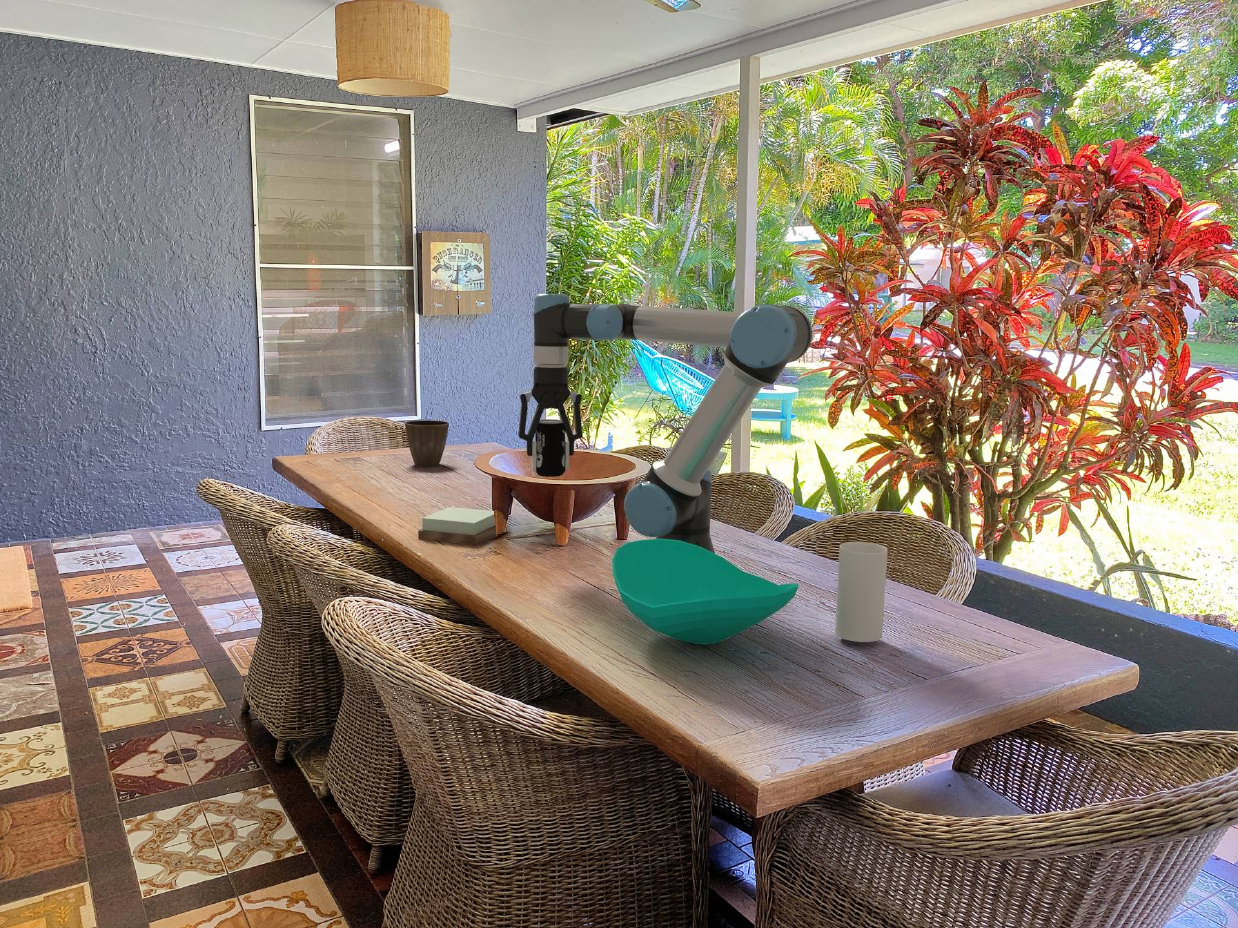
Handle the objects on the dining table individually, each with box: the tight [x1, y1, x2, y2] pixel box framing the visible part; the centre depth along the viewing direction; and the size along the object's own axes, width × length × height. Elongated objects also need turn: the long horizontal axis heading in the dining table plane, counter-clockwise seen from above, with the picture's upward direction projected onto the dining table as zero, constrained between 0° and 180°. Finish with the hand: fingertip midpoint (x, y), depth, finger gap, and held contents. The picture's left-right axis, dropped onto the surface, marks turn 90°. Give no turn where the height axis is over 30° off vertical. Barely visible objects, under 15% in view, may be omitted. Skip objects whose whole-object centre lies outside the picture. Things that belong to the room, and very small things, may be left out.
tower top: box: [421, 506, 495, 535], centre depth 243 cm, size 14×14×3 cm
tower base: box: [417, 526, 508, 547], centre depth 243 cm, size 16×16×3 cm
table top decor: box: [611, 538, 799, 645], centre depth 171 cm, size 40×28×13 cm
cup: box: [834, 541, 888, 643], centre depth 174 cm, size 8×8×16 cm
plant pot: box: [404, 419, 450, 468], centre depth 338 cm, size 15×15×16 cm
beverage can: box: [534, 418, 566, 478], centre depth 215 cm, size 7×7×12 cm
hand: (550, 470), depth 216 cm, fingers closed on beverage can, 6 cm apart
